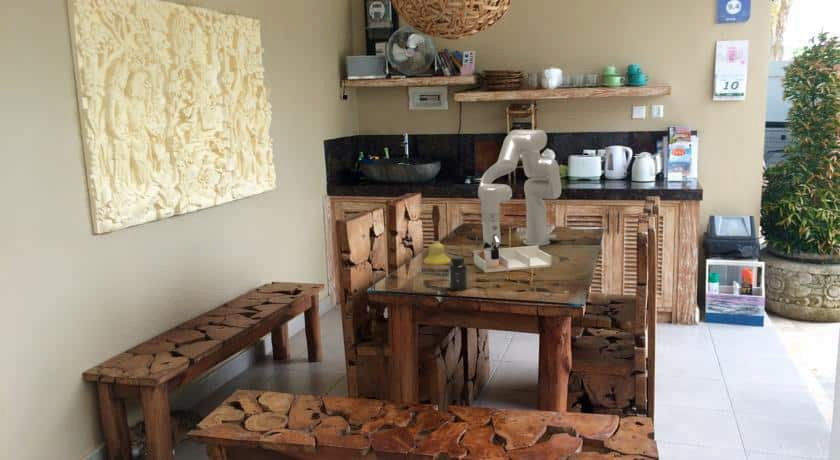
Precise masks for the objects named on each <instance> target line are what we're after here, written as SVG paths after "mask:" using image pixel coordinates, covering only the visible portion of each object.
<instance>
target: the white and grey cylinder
mask: <svg viewBox="0 0 840 460" xmlns="http://www.w3.org/2000/svg"><path fill="white" fill-rule="evenodd" d="M500 249H501V248H500V247H499V257H500ZM483 250H484V256H485V261H486V266H489V267H495V266H499V259H495V260H492V259H491V250H492V248H491V247H490V248H485V249H484V248H483Z"/></svg>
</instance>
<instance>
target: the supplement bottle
mask: <svg viewBox="0 0 840 460" xmlns="http://www.w3.org/2000/svg"><path fill="white" fill-rule="evenodd" d="M450 259H451V262H450V263H451V264H450V265H449V266H448V277H449V279H448V280H449V281H448V283H449V284H448V285H449V289H450V290H451V289H452V291H456V290H460V291H465V290H467V289H468V266H467V264H466V263H465V257H464V256H463V255H462V256H460V255H459V256H451V258H450ZM464 289H465V290H464Z"/></svg>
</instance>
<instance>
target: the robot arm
mask: <svg viewBox="0 0 840 460" xmlns="http://www.w3.org/2000/svg"><path fill="white" fill-rule="evenodd" d="M547 142H548V135H547V133H546V132H545V131H544V130H542V129H513V130H511V131H509V133H508V135H507V136H505V138H504V140H503V144H502V146H501V150H500V153H499V156H498V159H497V161H496V163H494V164H493V165H492V166H490V167H489V168H488V169H487V170H486V171H485V172H484V173H483V175H482V176H481V179H480V182H479V185H478V188H477V196H478V198H479V199H480V201H481V205H480V206H481V208H480V209H481V222H482V238H483V250H484V249H485V248H490V247H491V248H492V250H491V259H492V260H495V259H499V248H500V245H501V243H502V240H501V237H502V236H501V226H500V220H501V215H500V214H501V213H500V212H501V211H500V210H501V209H500V203H507V202H509V201H510V200H511V198H512V196H513V190H512V188H511V186H509V185H508V184H503V183H502V184H501V183H493V182H494V181H495V180H496V179H498V178H500V177H502V176H505V175H508V174H509V173H512V172H514V171H515V170H516V169H517V166H518V162H519V160H520V156H521V161H522V167H523V171H524V175H525V176H526V177H527V178H528V179H527V180H525V183H524V185H523V186H524V187H523V190H524V195H525V196H524V197H525V206H526V209H525V210H526V211H525V213H526V218H525V220H526V239H523V240H522V241H523V242H522V243H523V245H526V246H537V245H538V246H539V247H540V246H546V245H549V244H550V243H551V241H550V239H551V240H553V239H557V234H549V233H547V205H546V203H545V202H544V200H543V199H550V200H555V199H558V198H559V197H560V196H561V194H562V182H561V175H560V168H559V164H558V162H557V160H556V159H554V158H551V157H542V156H541V153H540V152H541V150H543V149H544V148H545V147H546V146H547Z"/></svg>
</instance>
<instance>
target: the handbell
mask: <svg viewBox="0 0 840 460" xmlns="http://www.w3.org/2000/svg"><path fill="white" fill-rule="evenodd" d="M431 209H432V210H431V220H432V224H433V243H432V244H430V245H429V247H428V248H429V249H428V250H429V252H428V254H427V256H426V258H424V259H423V263H424V264H428V265H443V264H449V263H451V258H450V257H448V256H447V255H446V253H445V246H444V244H442V243H441V242H440V232H439V230H440V229H439V224H440V220H441V219H440V217H441V216H440V209H439V205H438V204H433V206H432V208H431Z"/></svg>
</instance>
